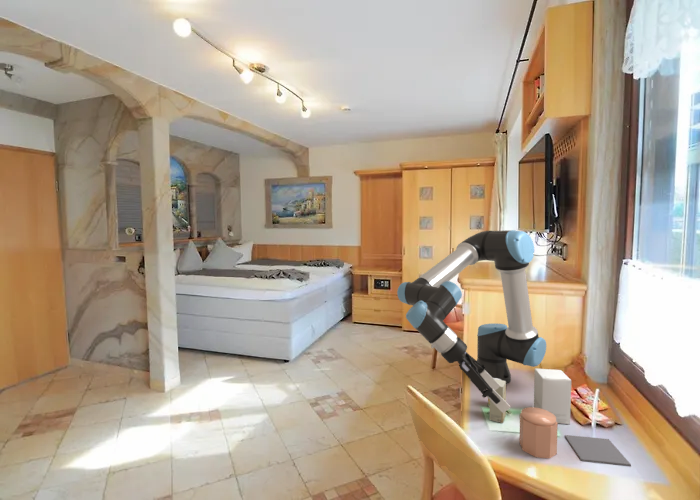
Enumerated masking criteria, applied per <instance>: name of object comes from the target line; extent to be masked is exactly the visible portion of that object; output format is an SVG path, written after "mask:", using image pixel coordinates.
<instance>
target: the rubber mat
mask: <svg viewBox="0 0 700 500" xmlns="http://www.w3.org/2000/svg"><path fill="white" fill-rule="evenodd" d="M564 437H565V439H566V440H567V442H568V443H569V445H570V446H571V448H572V449H573V451H574V452H575V454H576V455H577V457H578V458H579V459H580V461H581V462H589V463H598V464H608V465H617V466H625V467H632V464H631V463H630V462H629V460H628V459H627V458H626V457H625V456H624V455H623V453H621V451H620V450H619V449H618V448H617V447H616V446H615V445H614V443H613V442H612V441H611V440H610V439H609V438H603V437H602V438H601V437H592V436H591V437H590V436H580V435H579V436H578V435H569V434H565V435H564Z"/></svg>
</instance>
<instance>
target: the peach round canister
mask: <svg viewBox="0 0 700 500" xmlns="http://www.w3.org/2000/svg"><path fill="white" fill-rule="evenodd" d="M558 424H559V423H557V421H556V417H555V415H554V414H552V413H551V412H549V411H547V410H544V409H540V408H535V407H534V406H532V407H531V406H530V407H524V408H522V409H521V411H520V413H519V445H520V448H521V449H522V451H523V452H525V453H527V454H528V455H531V456H533V457H534V458H540V459H548V460H549V459H552V458H553V457H554V456H556V455H558Z"/></svg>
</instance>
